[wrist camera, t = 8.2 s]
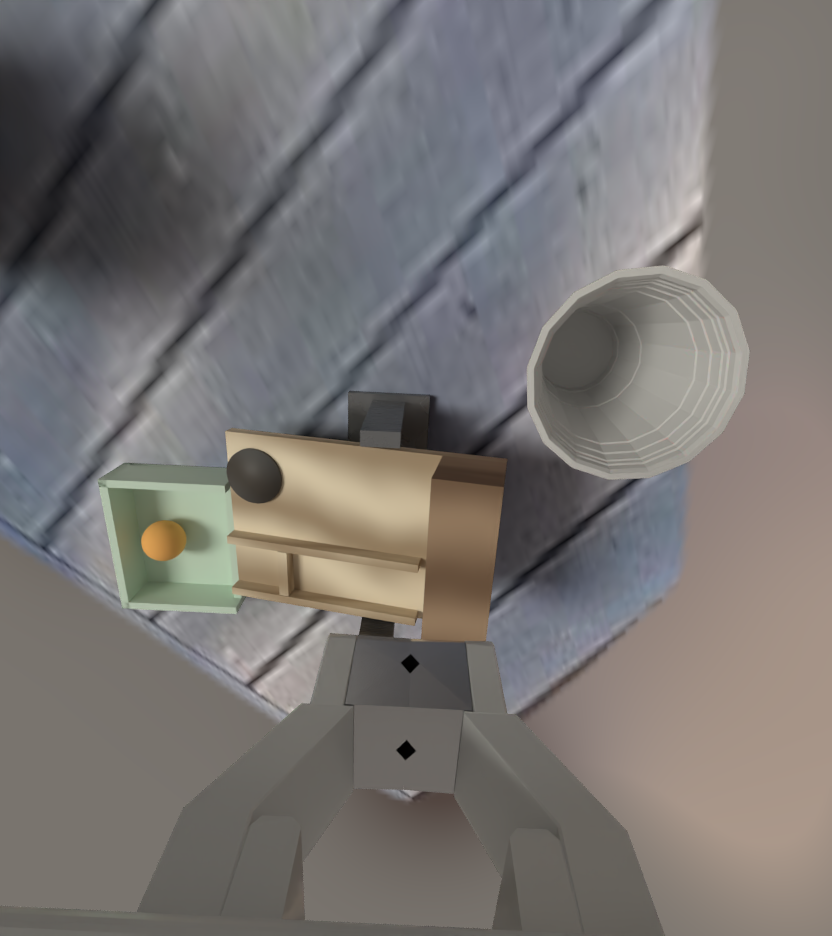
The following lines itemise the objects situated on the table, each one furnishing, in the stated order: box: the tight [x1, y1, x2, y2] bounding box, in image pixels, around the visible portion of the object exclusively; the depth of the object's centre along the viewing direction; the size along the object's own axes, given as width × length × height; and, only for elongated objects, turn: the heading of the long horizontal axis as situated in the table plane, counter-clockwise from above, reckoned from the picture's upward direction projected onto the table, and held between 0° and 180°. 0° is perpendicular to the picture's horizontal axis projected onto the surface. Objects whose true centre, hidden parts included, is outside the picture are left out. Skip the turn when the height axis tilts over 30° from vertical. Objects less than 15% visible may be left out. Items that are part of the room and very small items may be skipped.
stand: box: [348, 391, 430, 637], centre depth 37 cm, size 17×6×8 cm, turn 177°
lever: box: [225, 428, 507, 642], centre depth 33 cm, size 12×19×5 cm, turn 87°
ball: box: [141, 520, 187, 561], centre depth 40 cm, size 3×3×3 cm
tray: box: [98, 463, 246, 614], centre depth 40 cm, size 11×9×4 cm
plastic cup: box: [527, 266, 750, 480], centre depth 31 cm, size 11×11×12 cm
